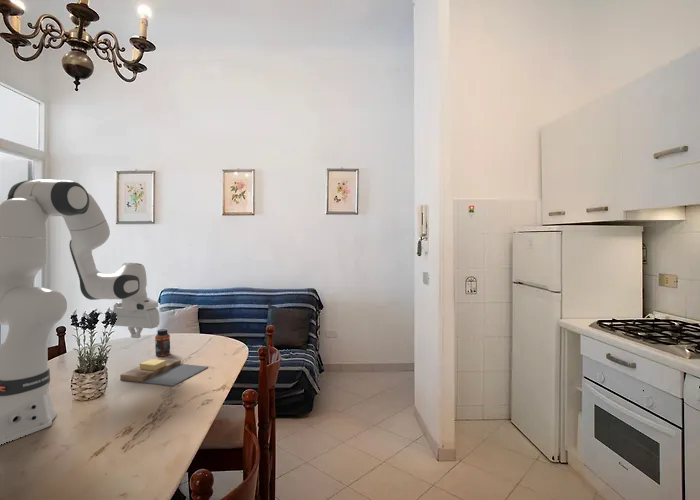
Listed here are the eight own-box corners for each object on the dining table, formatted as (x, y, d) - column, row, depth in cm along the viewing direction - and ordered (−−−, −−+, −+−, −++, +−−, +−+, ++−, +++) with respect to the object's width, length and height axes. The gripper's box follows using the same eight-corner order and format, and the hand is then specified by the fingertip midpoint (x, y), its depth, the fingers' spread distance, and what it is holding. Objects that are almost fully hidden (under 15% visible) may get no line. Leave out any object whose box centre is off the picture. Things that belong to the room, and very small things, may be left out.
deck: (142, 382, 137) (142, 377, 137) (120, 379, 140) (120, 374, 140) (180, 364, 156) (180, 359, 156) (160, 362, 159) (160, 357, 159)
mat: (172, 386, 134) (172, 385, 134) (142, 382, 137) (142, 381, 137) (208, 367, 153) (208, 366, 153) (181, 364, 156) (181, 363, 156)
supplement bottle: (173, 353, 172) (172, 328, 172) (165, 357, 166) (164, 331, 166) (160, 352, 173) (160, 328, 172) (152, 356, 167) (152, 331, 166)
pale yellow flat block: (154, 370, 144) (154, 365, 144) (139, 368, 146) (139, 363, 146) (166, 365, 150) (166, 360, 150) (151, 363, 152) (151, 358, 152)
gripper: (106, 303, 149) (108, 337, 150) (149, 306, 144) (150, 341, 144) (120, 300, 155) (121, 333, 156) (161, 303, 150) (162, 337, 150)
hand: (135, 337), depth 150 cm, fingers closed
